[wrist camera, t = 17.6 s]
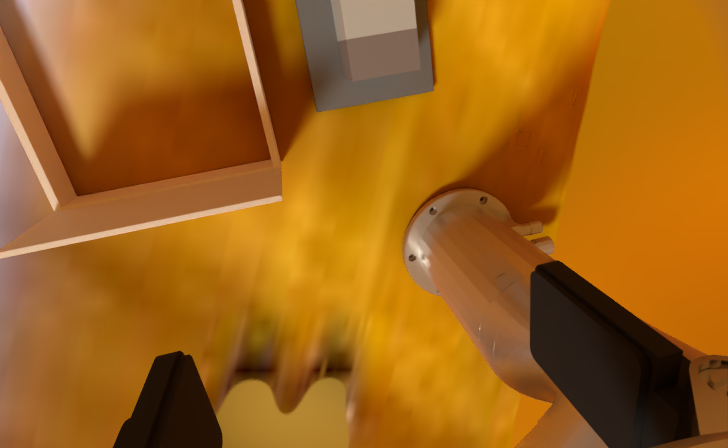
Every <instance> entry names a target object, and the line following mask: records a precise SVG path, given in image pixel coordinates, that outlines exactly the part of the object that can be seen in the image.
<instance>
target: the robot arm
mask: <svg viewBox="0 0 728 448" xmlns="http://www.w3.org/2000/svg"><path fill="white" fill-rule="evenodd" d="M481 197H482V198H481ZM480 198H481V199H480ZM431 208H432V210H430V209H431ZM429 210H430V211H429ZM542 230H543V226H542V223H541V222H540V221H539V220H535V221H531V222H526V223H525V224H519V223H516V222H515V221H513V220H512V217H511V215H510V212H509V211H508V210H507V208H506V207H505V205H504V204H503V203H501V202H500V201H499V200H498V199H497V198H495V197H494V196H492V195H491V194H489V193H486V192H484V191H482V190H477V189H472V188H460V189H455V190H450V191H447V192H445V193H442V194H440V195H438V196H436V197H434V198H433V199H431V200H430V201H428V202H427V203H426V204H425V205H424V206H423V207H421V208H420V209H419V211H418V212H417V213H416V214H415V216H414V217H413V218H412V220H411V222H410V224H409V226H408V227H407V230H406V233H405V236H404V241H403V259H404V262H405V266H406V268H407V270H408V272H409V274H410V275H411V277H412V278H413V280H414V281H415V282H416V283H417V284H418V285H419V286H420V287H421V288H422V289H424V290H426V291H428V292H430V293H432V294H435V295H438V296H442V297H443V299H444V300H445V302H446V303H447V305H448V306H449V308H450V309H451V310H452V312H453V313H454V315H455V316H456V318H457V319H458V321H459V322H460V324H461V325H462V327H463V328H464V329H465V331H466V332H467V334H468V335H469V337H470V338H471V340H472V341H473V343H474V344H475V346H476V347H477V349H478V350H479V351H480V353H481V354H482V356H483V357H484V359H485V360H486V361H487V363H488V364H489V366H490V367H491V369H492V370H493V371H494V373H495V374H496V375H497V376H498V377H499V378H500V379H501V380H502V381H503V382H504V383H505V384H507V385H508V386H509V387H511V388H513V389H514V390H516V391H518V392H519V393H522V394H524V395H526V396H529V397H532V398H534V399H538V400H542V401H546V402H550V403H553V404H552V406H551V407H550V408H549V409H548V410H547V411H546V413H545V414H544V415H543V416H542V417H541V418H540V419H539V420H538V423H537V425H536V426H535V427H534V428H533V429H532V430H531V431H530V432H529V433H528V434H527V435H526V436H525V437H524V438H523V439H522V441H521V442H520V443H519V444H518V445H517V446H516V447H515V448H728V356H720V355H707V354H705V353H703V352H701V351H699V350H697V349H695V348H693V347H691V346H689V345H687V344H685V343H684V342H682V341H680V340H678V339H676V338H674V337H672V336H670V335H668V334H666V333H664V332H662V331H660V330H659V329H657V328H655V327H653V326H651V325H650V324H648V323H646V322H645V321H643V320H641V319H639V318H637V317H636V316H635V315H633V314H632V313H631V312H629V311H628V310H626V309H625V308H624V307H622V306H621V305H620V304H618V303H617V302H615V301H614V300H613V299H611V298H610V297H609V296H607V295H606V294H604V293H603V292H602V291H600V290H599V289H598V288H596V287H595V286H593V285H592V284H591V283H589V282H588V281H586V280H585V279H584V278H582V277H581V276H579V275H578V274H577V273H575V272H574V271H573V270H571V269H570V268H568V267H567V266H566V265H564V264H563V263H562V262H560V261H555V260H554V259H553V258H551V257H550V256H549V255H547V254H551V253H553V252H554V243H553V241H552V239H551V238H550V237H548V236H546V237H541V238H537V239H533V240H531V241H528V240H527V239H526V238H524V237H523V236H525V235H532V234H537V233H541V232H542ZM411 254H412V255H411ZM410 255H411V256H410ZM113 448H222V432H221V428H220V426H219V424H218V421H217V418H216V416H215V413H214V411H213V408H212V406H211V403H210V401H209V398H208V396H207V393H206V391H205V388H204V386H203V383H202V381H201V378H200V376H199V373H198V371H197V368H196V366H195V363H194V361H193V358H192V356H191V355H184V354H183V352H182V351H177V352H173V353H169V354H165V355H160V356H157V357H156V358H155V360H154V362H153V364H152V367H151V369H150V372H149V374H148V377H147V379H146V382H145V384H144V387H143V389H142V391H141V394H140V396H139V399H138V401H137V404H136V406H135V409H134V411H133V413H132V416H131V418H129V419H128V420H126V421H125V422H124V424H123V426H122V427H121V430H120V432H119V434H118V437H117V439H116V441H115V444H114V446H113Z"/></svg>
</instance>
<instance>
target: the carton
mask: <svg viewBox="0 0 728 448" xmlns="http://www.w3.org/2000/svg"><path fill="white" fill-rule="evenodd" d="M232 1H233V5H234V9H235V13H236V17H237V21H238V25H239V30H240V34H241V38H242V42H243V46H244V50H245V54H246V58H247V62H248V66H249V70H250V74H251V79H252V83H253V87H254V91H255V95H256V99H257V103H258V107H259V111H260V115H261V119H262V123H263V127H264V132H265V136H266V140H267V144H268V148H269V152H270V156H271V159H270V160H264V161H259V162H254V163H249V164H244V165H239V166H233V167H228V168H223V169H218V170H213V171H208V172H202V173H197V174H192V175H187V176H182V177H176V178H171V179H166V180H161V181H156V182H151V183H145V184H140V185H135V186H130V187H125V188H120V189H114V190H109V191H104V192H99V193H94V194H89V195H83V196H78V197H77V195H76V193H75V191H74V188H73V186H72V184H71V182H70V180H69V177H68V175H67V173H66V171H65V168H64V166H63V164H62V162H61V160H60V157H59V155H58V153H57V151H56V149H55V146H54V144H53V142H52V140H51V137H50V135H49V133H48V131H47V129H46V126H45V124H44V122H43V120H42V117H41V115H40V113H39V111H38V109H37V106H36V104H35V102H34V100H33V97H32V95H31V93H30V91H29V89H28V86H27V84H26V82H25V80H24V77H23V75H22V73H21V71H20V69H19V66H18V64H17V62H16V60H15V57H14V55H13V53H12V51H11V49H10V46H9V44H8V42H7V40H6V38H5V35H4V33H3V31H2V29H1V26H0V99H1V102H2V104H3V106H4V108H5V110H6V112H7V114H8V116H9V118H10V120H11V122H12V124H13V126H14V129H15V131H16V133H17V135H18V137H19V139H20V141H21V143H22V145H23V147H24V149H25V151H26V154H27V156H28V158H29V160H30V162H31V164H32V166H33V168H34V170H35V172H36V174H37V176H38V178H39V181H40V183H41V185H42V187H43V189H44V191H45V193H46V195H47V197H48V199H49V201H50V203H51V206H52V208H53V210H54V212H53V213H52V214H50V215H49V216H47V217H46V218H45V219H43V220H42V221H40V222H39V223H37V224H36V225H34V226H33V227H32V228H30V229H29V230H27V231H26V232H24V233H23V234H21V235H20V236H19V237H17V238H16V239H14V240H13V241H11V242H10V243H9V244H7V245H6V246H4V247H3V248H1V249H0V258H5V257H10V256H15V255H20V254H24V253H29V252H34V251H39V250H44V249H49V248H54V247H58V246H63V245H68V244H73V243H78V242H83V241H88V240H93V239H97V238H102V237H107V236H112V235H117V234H122V233H127V232H132V231H136V230H141V229H146V228H151V227H156V226H161V225H166V224H170V223H175V222H180V221H185V220H190V219H195V218H200V217H205V216H209V215H214V214H219V213H224V212H229V211H234V210H239V209H244V208H248V207H253V206H258V205H263V204H268V203H273V202H278V201H282V171H281V160H280V156H279V152H278V148H277V143H276V139H275V135H274V131H273V127H272V122H271V118H270V114H269V110H268V105H267V101H266V97H265V93H264V88H263V84H262V80H261V76H260V72H259V67H258V63H257V59H256V55H255V50H254V46H253V42H252V38H251V33H250V29H249V25H248V21H247V17H246V12H245V8H244V4H243V0H232Z"/></svg>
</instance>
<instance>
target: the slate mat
mask: <svg viewBox="0 0 728 448" xmlns="http://www.w3.org/2000/svg"><path fill="white" fill-rule="evenodd" d="M414 3H415V14H416V25H417V34H418V45H419V55H420V66H421V70H416V71H410V72H404V73H399V74H393V75H387V76H382V77H376V78H370V79H365V80H359V81H353V82H352V81H349V80H346V79H343V73H342V67H341V61H340V55H339V49H338V42H337V35H336V29H335V23H334V17H333V11H332V5H331V0H296V5H297V11H298V16H299V21H300V26H301V31H302V37H303V42H304V47H305V52H306V58H307V63H308V68H309V73H310V78H311V84H312V89H313V94H314V99H315V104H316V110H317V112H321V111H327V110H332V109H338V108H343V107H349V106H354V105H360V104H365V103H371V102H376V101H382V100H387V99H393V98H398V97H404V96H409V95H415V94H420V93H426V92H431V91H434V86H433V73H432V61H431V49H430V36H429V24H428V12H427V0H414Z"/></svg>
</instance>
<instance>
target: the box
mask: <svg viewBox="0 0 728 448" xmlns="http://www.w3.org/2000/svg"><path fill="white" fill-rule="evenodd" d="M331 5H332V11H333V17H334V23H335V29H336V35H337V42H338V49H339V55H340V61H341V67H342V73H343V79H346V80H349V81H352V82H353V81H359V80H365V79H370V78H376V77H382V76H387V75H393V74H399V73H404V72H410V71H416V70H421V66H420V55H419V45H418V34H417V25H416V14H415V3H414V0H331Z"/></svg>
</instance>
